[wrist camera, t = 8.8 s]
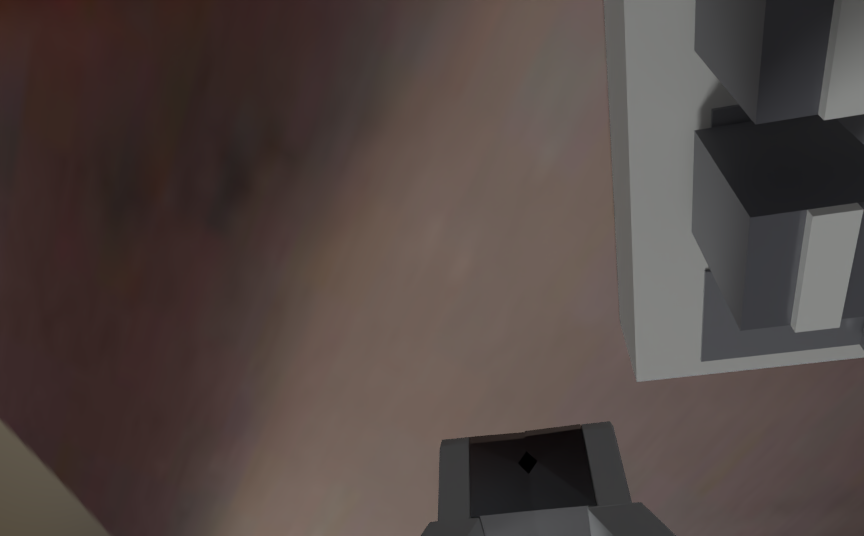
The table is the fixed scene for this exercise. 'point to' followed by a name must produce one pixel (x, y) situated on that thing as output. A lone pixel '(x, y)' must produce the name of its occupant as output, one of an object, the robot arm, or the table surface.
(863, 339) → the tab
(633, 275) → the switch panel
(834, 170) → the tab middle
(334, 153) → the table surface
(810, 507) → the table surface
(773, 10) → the tab
